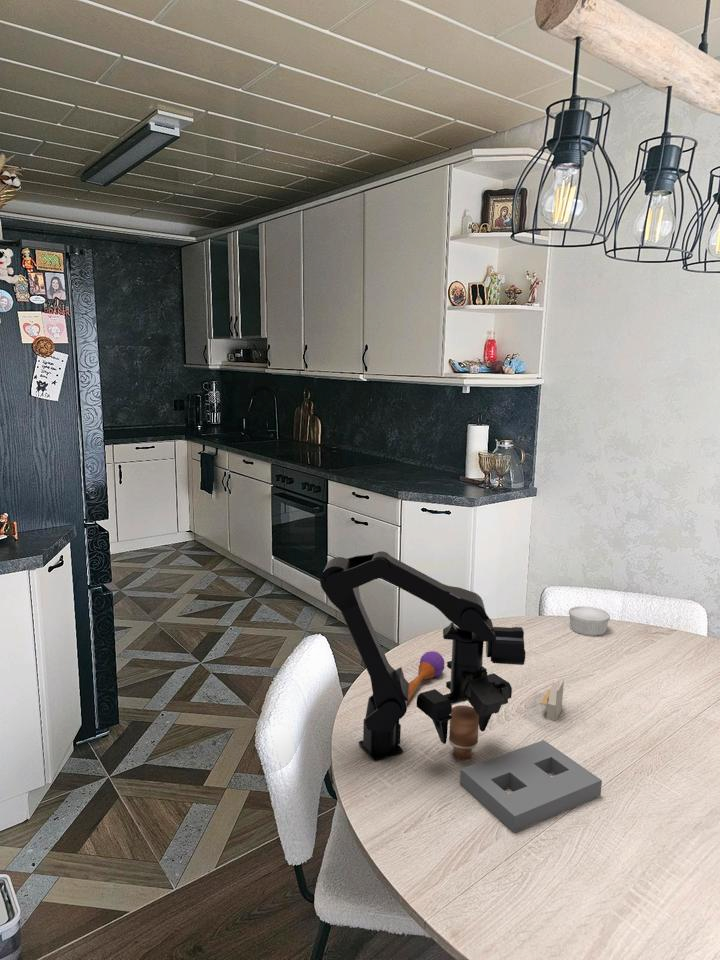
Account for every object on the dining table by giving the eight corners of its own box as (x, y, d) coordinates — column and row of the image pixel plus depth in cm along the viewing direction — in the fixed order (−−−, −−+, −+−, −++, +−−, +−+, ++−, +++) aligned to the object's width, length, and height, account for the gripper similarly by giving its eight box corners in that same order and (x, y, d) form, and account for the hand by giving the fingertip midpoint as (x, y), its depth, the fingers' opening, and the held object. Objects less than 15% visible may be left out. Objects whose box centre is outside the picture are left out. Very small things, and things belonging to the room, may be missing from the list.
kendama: (386, 685, 145) (424, 646, 162) (391, 710, 146) (428, 669, 163) (410, 687, 142) (446, 647, 159) (415, 713, 143) (450, 670, 160)
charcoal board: (513, 832, 105) (514, 816, 105) (460, 784, 118) (460, 768, 117) (600, 795, 115) (601, 780, 115) (542, 754, 127) (543, 739, 127)
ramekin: (581, 619, 196) (582, 602, 195) (616, 631, 187) (617, 613, 187) (559, 628, 189) (561, 611, 188) (595, 641, 180) (596, 623, 179)
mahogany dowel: (459, 766, 123) (462, 723, 121) (442, 751, 127) (444, 709, 126) (482, 758, 125) (485, 716, 124) (465, 743, 130) (467, 702, 129)
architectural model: (539, 719, 141) (541, 686, 139) (547, 704, 147) (549, 673, 145) (555, 723, 139) (557, 690, 138) (562, 709, 145) (565, 677, 144)
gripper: (452, 690, 112) (448, 773, 114) (534, 667, 121) (529, 745, 123) (416, 663, 121) (413, 741, 124) (494, 644, 130) (490, 717, 133)
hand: (463, 736), depth 126 cm, fingers open, 9 cm apart
